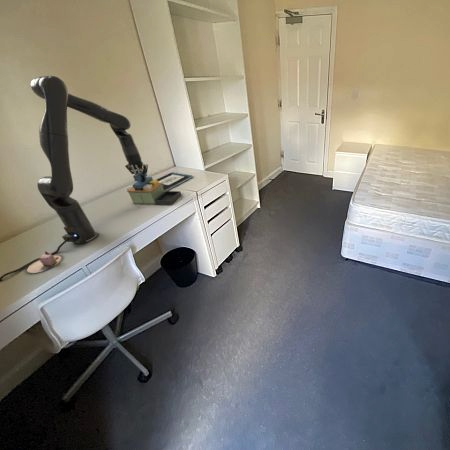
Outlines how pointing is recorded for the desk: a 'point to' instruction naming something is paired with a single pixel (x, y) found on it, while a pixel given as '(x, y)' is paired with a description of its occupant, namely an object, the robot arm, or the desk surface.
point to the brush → (141, 181)
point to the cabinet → (146, 194)
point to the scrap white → (147, 187)
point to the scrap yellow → (154, 182)
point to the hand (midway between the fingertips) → (142, 180)
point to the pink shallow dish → (44, 263)
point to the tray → (168, 198)
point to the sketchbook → (173, 180)
